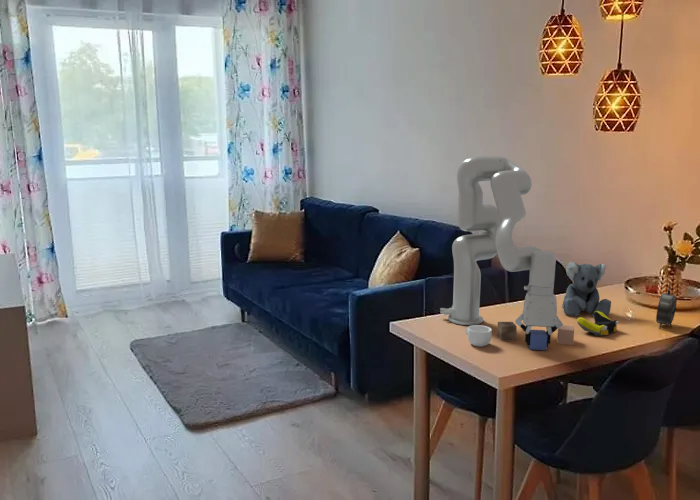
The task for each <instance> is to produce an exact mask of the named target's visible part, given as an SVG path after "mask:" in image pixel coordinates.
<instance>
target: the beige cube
mask: <svg viewBox="0 0 700 500" xmlns="http://www.w3.org/2000/svg"><path fill="white" fill-rule="evenodd" d="M574 340H575V326H574V325H564V324H563V326H561V327H560V328H558V329H557V340H556V343H557V344H560V345H569V346H574V342H575V341H574Z"/></svg>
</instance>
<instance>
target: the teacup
mask: <svg viewBox="0 0 700 500" xmlns="http://www.w3.org/2000/svg"><path fill="white" fill-rule="evenodd" d="M464 331H465V334H466V335H467V339H468V342H469V343H470V344H471V345H472V346H475V347H480V348H481V347H486V346H487V345H489V343H490V342H491V340H492V334H493V333H492V332H493V330H492V328H491V327H490V326H486V325H480V324H476V325H468V326H467V327H466V328H465V330H464Z"/></svg>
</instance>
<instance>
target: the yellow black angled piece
mask: <svg viewBox="0 0 700 500" xmlns="http://www.w3.org/2000/svg"><path fill="white" fill-rule="evenodd" d="M592 317H593V320H594V322H592V321H589V320H588V319H586V317H585V318H584V317H581V316H580V317H577V321H576V323H577V324H578V326H579V327H580V328H581V329H582V330H583V331H585V332H588V333H591V334H593V335H594V336H597V337H598V336H599V337H601V336H608V335H610V334H613V333H616V332H617V326H618V324H619V321H618V320H617V319H615V320H612V319H610V318H609V317H608V316H606V315H605V314H603V313H602V312H599V311H596V312H594V313H593V315H592Z"/></svg>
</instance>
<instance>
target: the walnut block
mask: <svg viewBox="0 0 700 500" xmlns="http://www.w3.org/2000/svg"><path fill="white" fill-rule="evenodd" d="M517 326H518V325H517V324H516V323H514V322H513V321H497V329H496V330H497V332H496V334H497V335H496V336H497V338H498V339H499V340H500V341H517Z"/></svg>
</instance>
